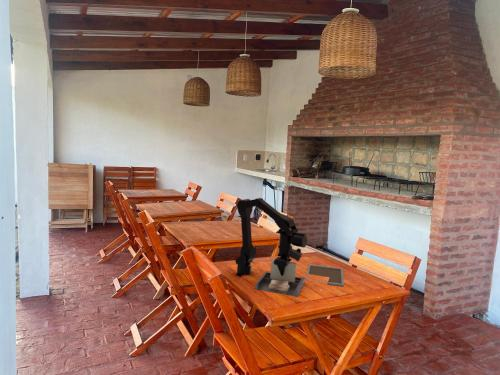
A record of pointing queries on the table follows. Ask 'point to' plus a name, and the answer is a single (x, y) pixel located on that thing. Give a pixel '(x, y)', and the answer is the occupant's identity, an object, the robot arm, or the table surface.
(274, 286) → the offcut bottom
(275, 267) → the tall sheet
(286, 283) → the offcut top
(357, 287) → the table surface
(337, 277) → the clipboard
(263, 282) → the tray
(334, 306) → the table surface
